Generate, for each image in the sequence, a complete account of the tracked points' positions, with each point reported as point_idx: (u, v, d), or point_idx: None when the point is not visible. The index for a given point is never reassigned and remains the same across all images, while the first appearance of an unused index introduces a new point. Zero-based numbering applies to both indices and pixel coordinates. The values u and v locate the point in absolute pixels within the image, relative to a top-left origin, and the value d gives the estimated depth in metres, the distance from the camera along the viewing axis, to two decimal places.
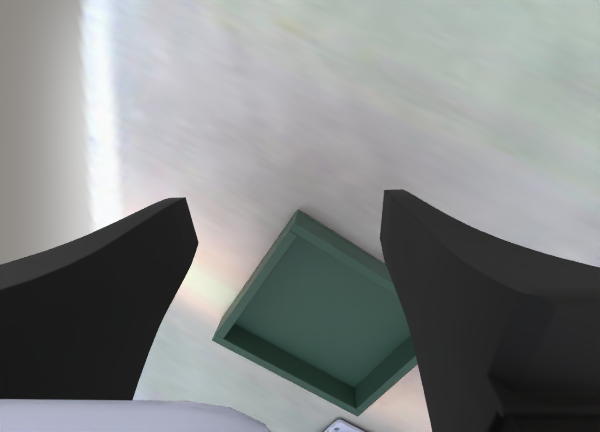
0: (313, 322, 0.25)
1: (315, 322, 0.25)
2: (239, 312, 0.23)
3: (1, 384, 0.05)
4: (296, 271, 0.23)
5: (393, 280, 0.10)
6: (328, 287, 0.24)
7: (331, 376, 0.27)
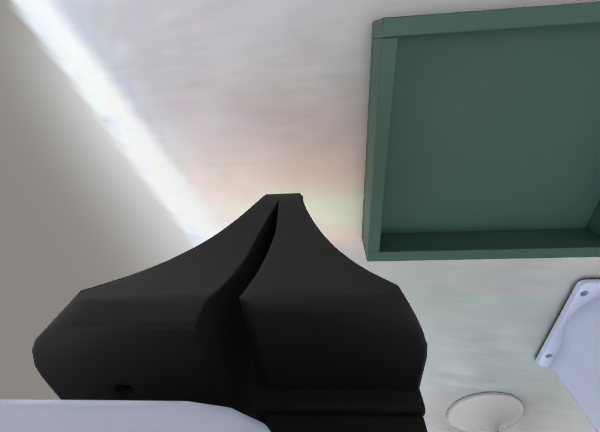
0: (481, 171, 0.17)
1: (484, 169, 0.17)
2: (380, 206, 0.16)
3: (224, 385, 0.04)
4: (420, 114, 0.16)
5: None
6: (478, 106, 0.15)
7: (544, 230, 0.19)
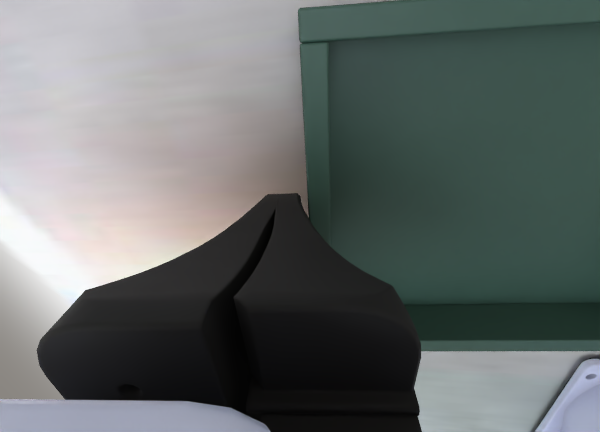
0: (474, 231, 0.12)
1: (478, 228, 0.12)
2: None
3: (228, 385, 0.04)
4: (383, 155, 0.11)
5: None
6: (469, 143, 0.10)
7: (561, 304, 0.14)
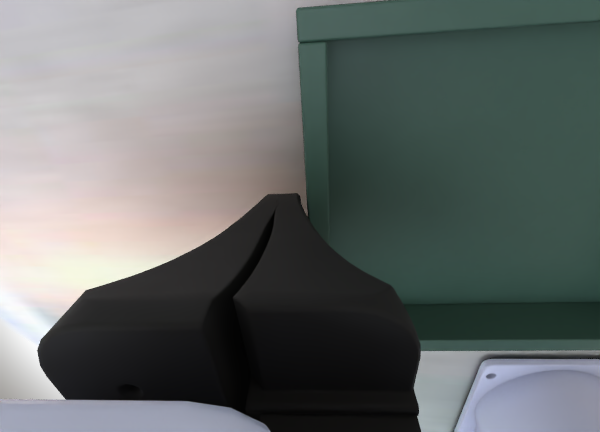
0: (473, 230, 0.12)
1: (477, 228, 0.12)
2: None
3: (228, 385, 0.04)
4: (382, 154, 0.11)
5: None
6: (468, 143, 0.10)
7: (561, 303, 0.14)
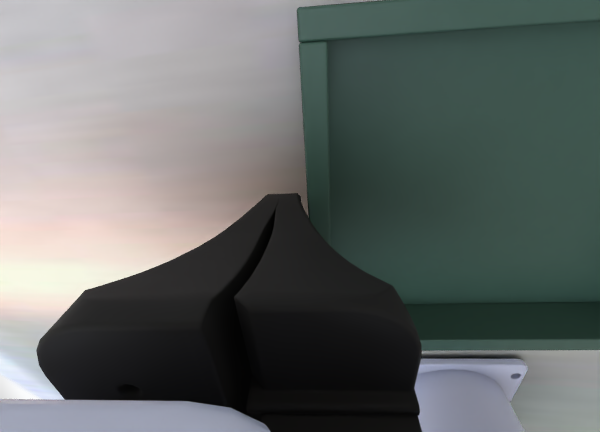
0: (473, 230, 0.12)
1: (478, 227, 0.12)
2: None
3: (228, 385, 0.04)
4: (382, 154, 0.11)
5: None
6: (468, 142, 0.10)
7: (561, 303, 0.14)
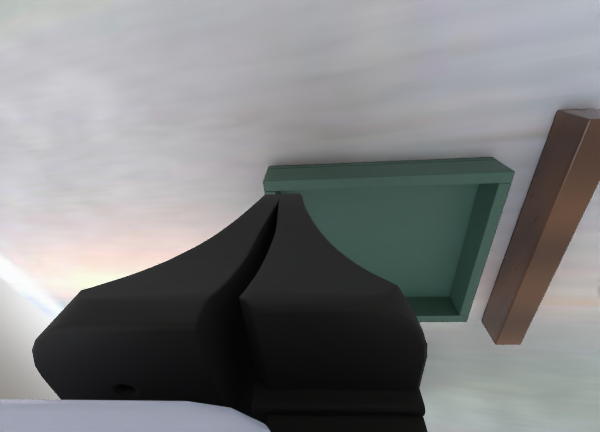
0: (362, 258, 0.23)
1: (364, 257, 0.23)
2: None
3: (224, 385, 0.04)
4: None
5: None
6: (350, 219, 0.21)
7: (419, 297, 0.25)
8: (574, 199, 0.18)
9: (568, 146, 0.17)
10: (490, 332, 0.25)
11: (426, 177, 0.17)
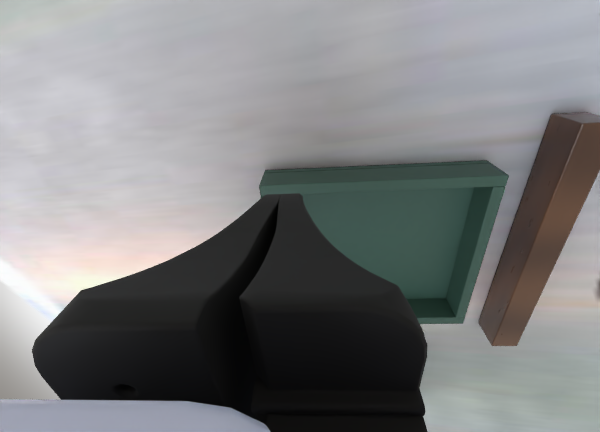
0: (359, 261, 0.23)
1: (361, 260, 0.23)
2: None
3: (224, 385, 0.04)
4: None
5: None
6: (347, 222, 0.21)
7: (415, 299, 0.25)
8: (568, 202, 0.18)
9: (562, 149, 0.17)
10: (487, 333, 0.25)
11: (421, 181, 0.17)
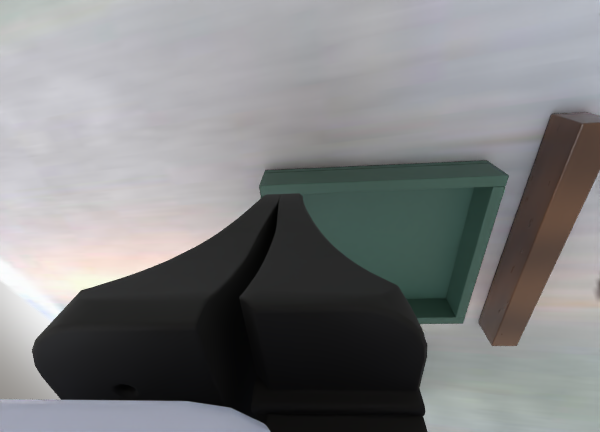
0: (359, 261, 0.23)
1: (361, 260, 0.23)
2: None
3: (224, 385, 0.04)
4: None
5: None
6: (347, 222, 0.21)
7: (415, 299, 0.25)
8: (568, 202, 0.18)
9: (562, 149, 0.17)
10: (487, 333, 0.25)
11: (421, 181, 0.17)
